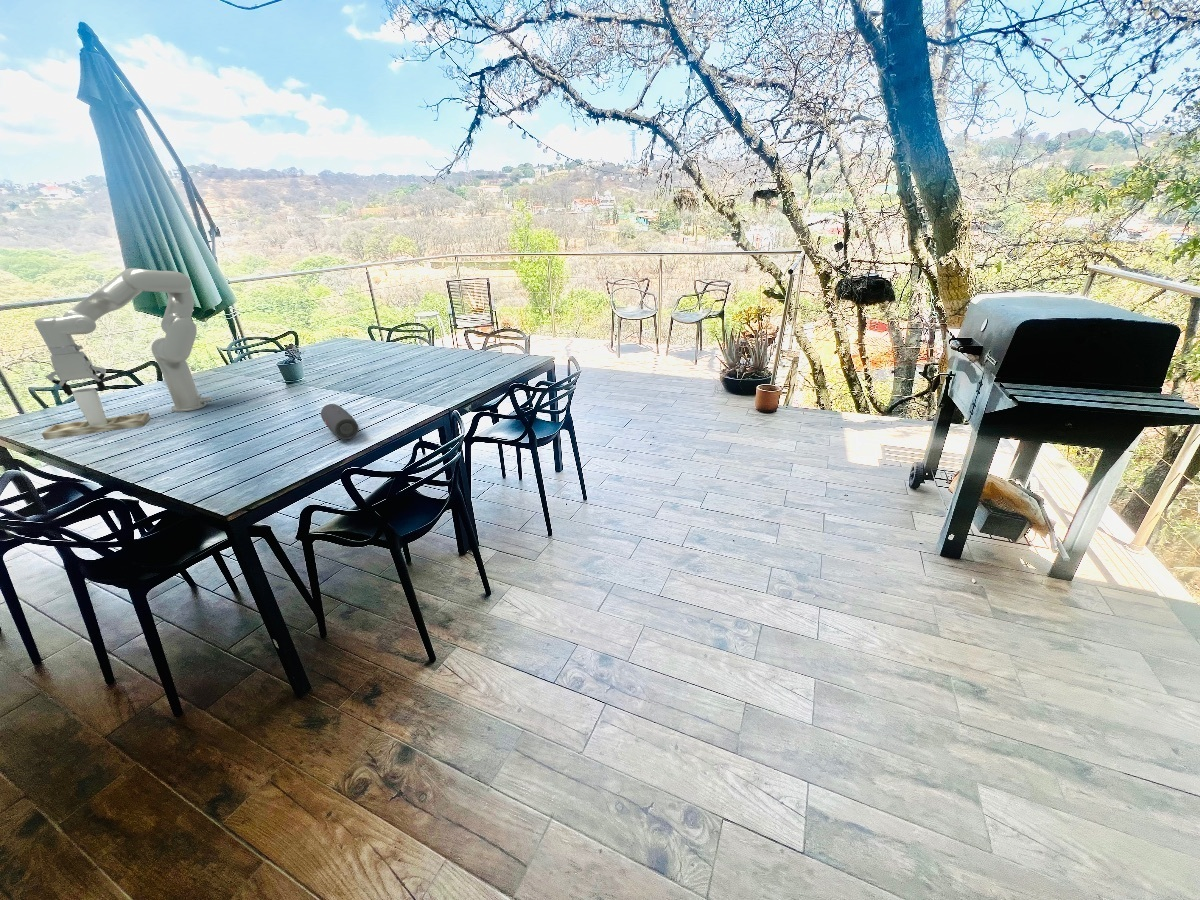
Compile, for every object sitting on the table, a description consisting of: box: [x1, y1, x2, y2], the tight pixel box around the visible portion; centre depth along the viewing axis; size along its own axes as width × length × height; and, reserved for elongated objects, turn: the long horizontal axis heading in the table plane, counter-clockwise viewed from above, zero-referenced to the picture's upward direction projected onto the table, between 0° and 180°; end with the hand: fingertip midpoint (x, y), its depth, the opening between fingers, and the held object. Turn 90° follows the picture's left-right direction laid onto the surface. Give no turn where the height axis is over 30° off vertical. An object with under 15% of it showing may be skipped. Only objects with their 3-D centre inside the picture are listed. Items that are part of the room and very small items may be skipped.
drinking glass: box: [72, 387, 108, 426], centre depth 193 cm, size 7×7×15 cm
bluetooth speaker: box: [320, 403, 360, 440], centre depth 188 cm, size 23×9×10 cm, turn 40°
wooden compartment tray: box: [41, 412, 151, 440], centre depth 195 cm, size 30×11×2 cm, turn 119°
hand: (86, 392), depth 190 cm, fingers open, 9 cm apart
